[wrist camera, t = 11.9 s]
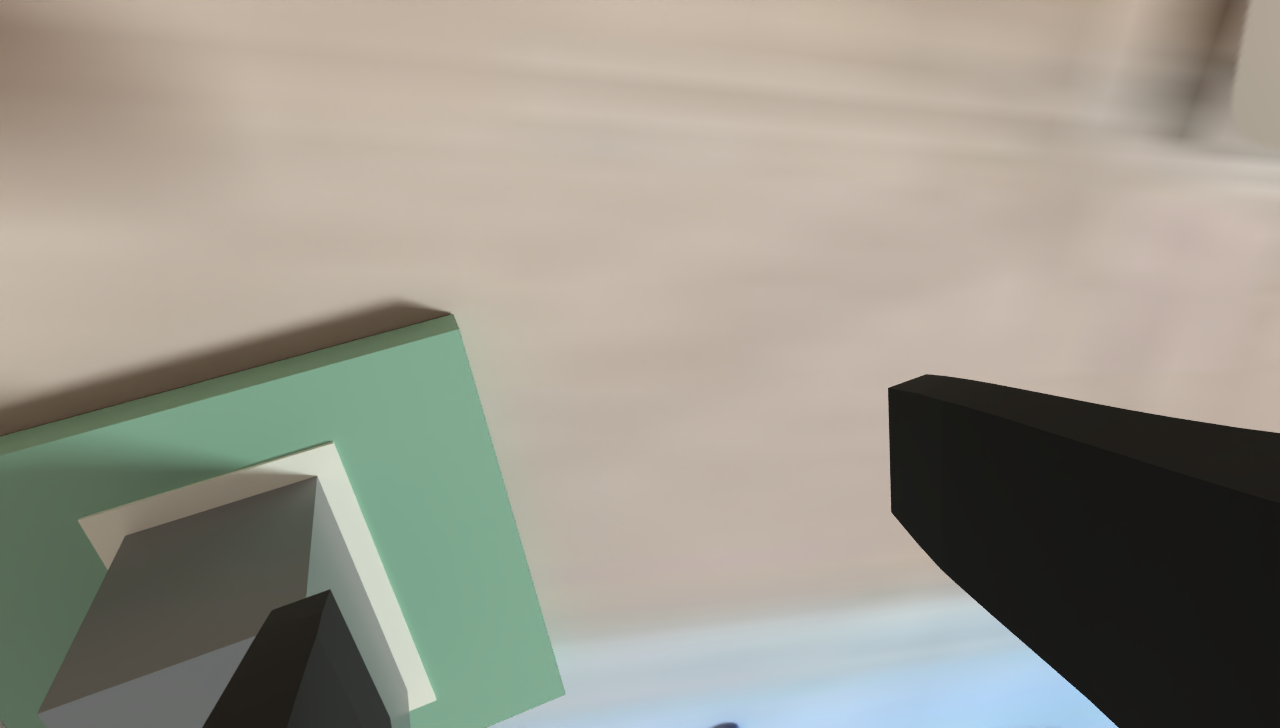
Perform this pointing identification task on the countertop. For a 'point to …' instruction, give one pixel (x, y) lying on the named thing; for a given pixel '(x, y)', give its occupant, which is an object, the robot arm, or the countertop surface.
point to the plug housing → (209, 612)
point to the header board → (275, 457)
